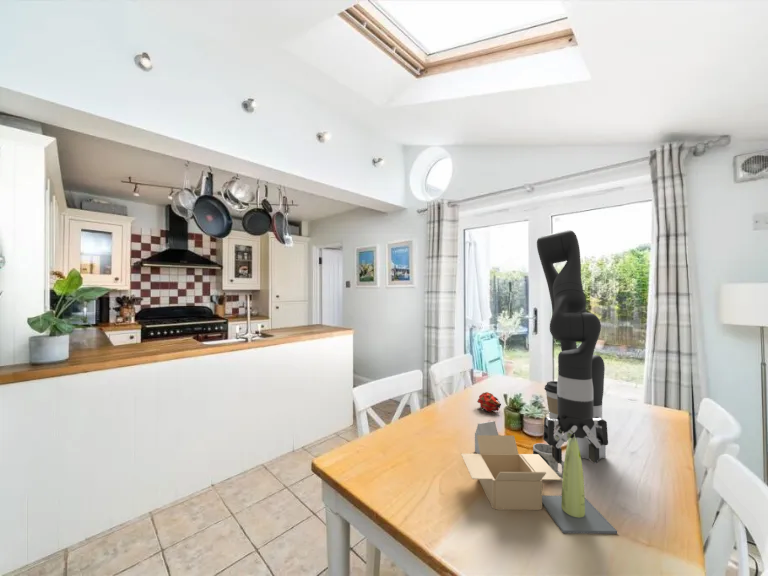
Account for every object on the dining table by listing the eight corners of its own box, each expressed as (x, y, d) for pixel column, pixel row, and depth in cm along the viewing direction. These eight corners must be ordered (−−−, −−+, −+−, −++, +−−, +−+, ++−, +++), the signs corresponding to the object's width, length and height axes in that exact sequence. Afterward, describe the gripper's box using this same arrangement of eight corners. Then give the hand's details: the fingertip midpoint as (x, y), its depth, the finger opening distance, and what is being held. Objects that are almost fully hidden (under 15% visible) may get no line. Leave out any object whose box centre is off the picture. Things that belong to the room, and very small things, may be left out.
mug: (528, 467, 96) (528, 445, 96) (543, 462, 99) (543, 441, 99) (557, 486, 87) (557, 462, 87) (573, 480, 90) (573, 457, 90)
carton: (532, 472, 94) (532, 435, 94) (570, 519, 74) (570, 472, 74) (458, 471, 94) (458, 434, 94) (476, 517, 75) (476, 471, 75)
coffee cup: (575, 418, 133) (575, 383, 133) (575, 428, 124) (574, 390, 124) (545, 412, 139) (545, 378, 140) (542, 421, 130) (542, 385, 130)
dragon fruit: (480, 408, 148) (498, 421, 138) (469, 400, 145) (487, 413, 134) (490, 393, 150) (509, 405, 139) (479, 385, 146) (498, 396, 135)
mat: (583, 498, 82) (583, 495, 82) (617, 533, 70) (617, 531, 70) (537, 497, 82) (537, 495, 82) (563, 533, 70) (563, 530, 70)
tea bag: (498, 453, 105) (498, 423, 105) (481, 456, 102) (481, 426, 102) (491, 448, 108) (491, 418, 108) (474, 451, 106) (474, 421, 106)
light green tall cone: (592, 518, 74) (592, 435, 74) (575, 522, 72) (574, 437, 73) (572, 502, 79) (572, 425, 79) (556, 505, 78) (555, 427, 78)
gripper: (593, 389, 80) (594, 453, 80) (537, 389, 80) (538, 453, 80) (615, 400, 72) (616, 470, 72) (553, 400, 72) (554, 470, 72)
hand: (575, 461), depth 76 cm, fingers open, 8 cm apart
